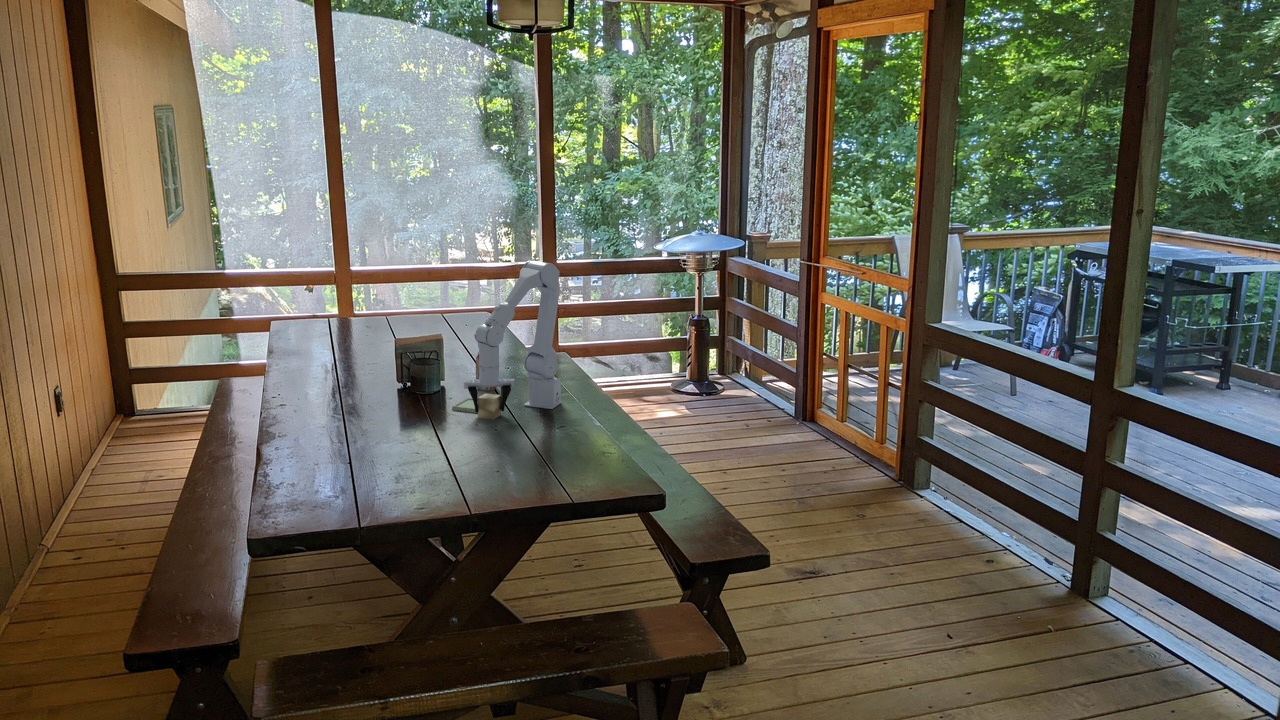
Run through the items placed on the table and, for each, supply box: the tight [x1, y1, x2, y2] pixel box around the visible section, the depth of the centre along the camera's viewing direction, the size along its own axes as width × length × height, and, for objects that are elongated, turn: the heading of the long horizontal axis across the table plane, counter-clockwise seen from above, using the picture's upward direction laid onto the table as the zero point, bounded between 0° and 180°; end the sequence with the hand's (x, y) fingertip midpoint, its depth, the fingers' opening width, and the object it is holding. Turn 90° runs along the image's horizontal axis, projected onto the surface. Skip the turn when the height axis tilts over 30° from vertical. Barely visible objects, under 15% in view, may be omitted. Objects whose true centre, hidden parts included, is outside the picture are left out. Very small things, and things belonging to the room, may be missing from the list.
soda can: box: [475, 351, 498, 392], centre depth 300 cm, size 7×7×12 cm
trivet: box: [451, 397, 478, 414], centre depth 281 cm, size 10×10×1 cm
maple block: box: [477, 393, 502, 420], centre depth 272 cm, size 5×5×6 cm
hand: (489, 410), depth 272 cm, fingers closed on maple block, 7 cm apart
